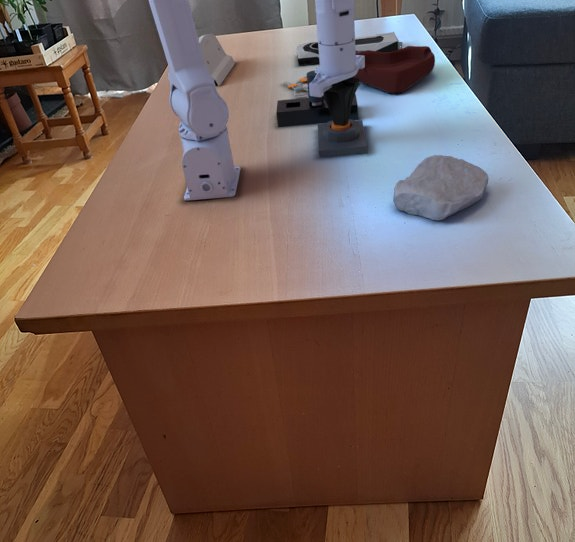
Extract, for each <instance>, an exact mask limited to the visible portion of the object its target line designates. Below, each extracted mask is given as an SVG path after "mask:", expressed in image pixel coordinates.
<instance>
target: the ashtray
mask: <svg viewBox="0 0 575 542" xmlns="http://www.w3.org/2000/svg"><path fill="white" fill-rule="evenodd" d="M355 55H362V56H365V67H364V68H363V69H359V70H358V72H357V74H356V75H355V76H353V77H354V78H359V79H360V84H364V85H368V86H370V87H373V88H375V89H377V90H380V91H383V92H386V93H388V94H389V95H400V94H403V93H404V92H405V91H407V90H408V89H410V88H411V87H412V86H414V85H416V84H417V83H418V82H419V81H420V80H421V79H423V78H425V77H427V76H428V75H429V74H430V73H432V71H433V70H434V68H435V65H436V56H435V54H434V52H432V49H431V48H430V46H426V45H418V46H416V45H408V46H405V47H402V49H399V50H397V51H392V52H378V51H371V50H366V51H362V52H359V53H355Z"/></svg>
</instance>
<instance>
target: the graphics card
mask: <svg viewBox="0 0 575 542" xmlns="http://www.w3.org/2000/svg"><path fill="white" fill-rule="evenodd" d="M402 48H403V41H399V39H398V37H397V35H396V33H395V31H392V32H385V33H377V34H375V35H368V36H360V37H355V53H359V52H362V51H366V50H371V51H378V52H392V51H397V50H399V49H402ZM295 52H296V54H297V65H298V67H301V66H310V65H320V62H319V49H318V41H314V42H313V41H312V42H306V43H300V44H297V46H296V51H295Z"/></svg>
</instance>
